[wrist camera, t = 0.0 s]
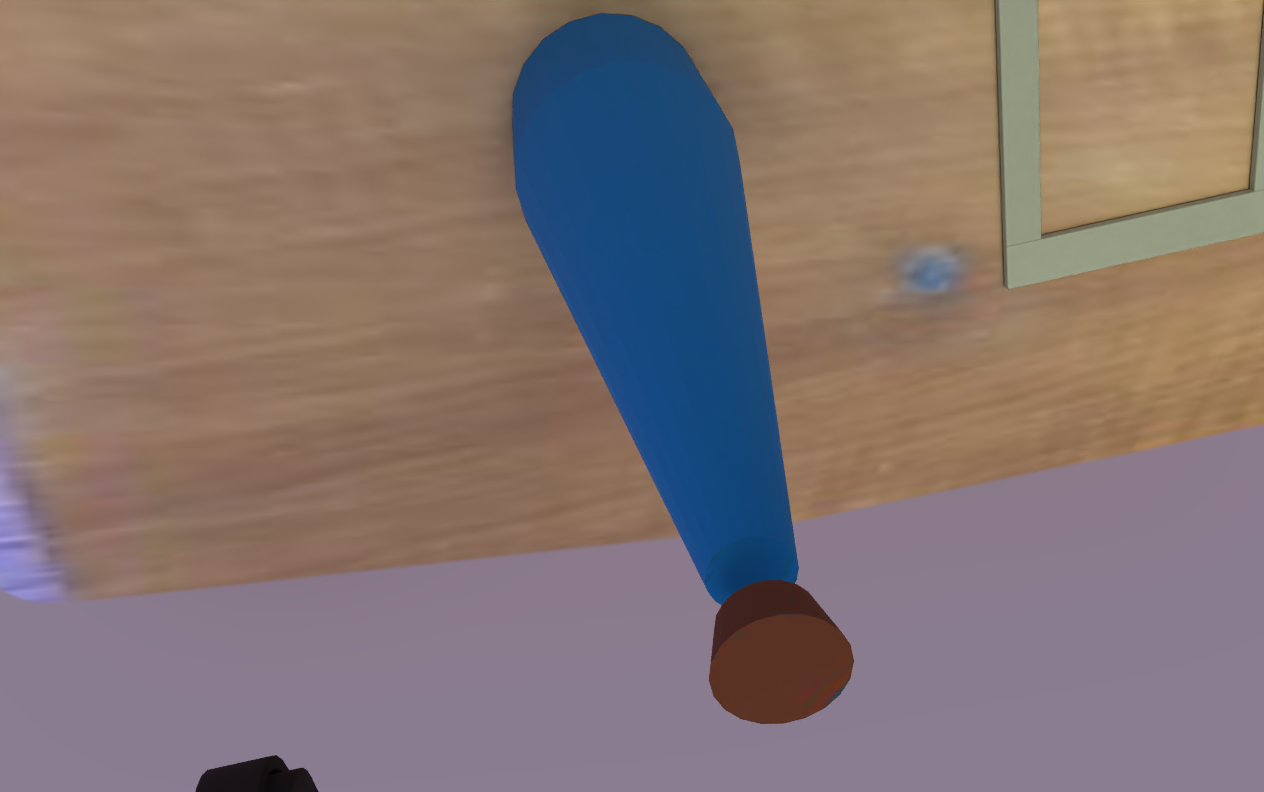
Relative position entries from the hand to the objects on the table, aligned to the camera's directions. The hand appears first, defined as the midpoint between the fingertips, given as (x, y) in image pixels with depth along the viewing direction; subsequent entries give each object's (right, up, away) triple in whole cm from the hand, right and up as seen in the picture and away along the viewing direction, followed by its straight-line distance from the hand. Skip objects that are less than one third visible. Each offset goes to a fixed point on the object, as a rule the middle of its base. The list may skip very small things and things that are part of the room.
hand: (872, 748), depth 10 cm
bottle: (-3, +14, +35) cm, 37 cm away
